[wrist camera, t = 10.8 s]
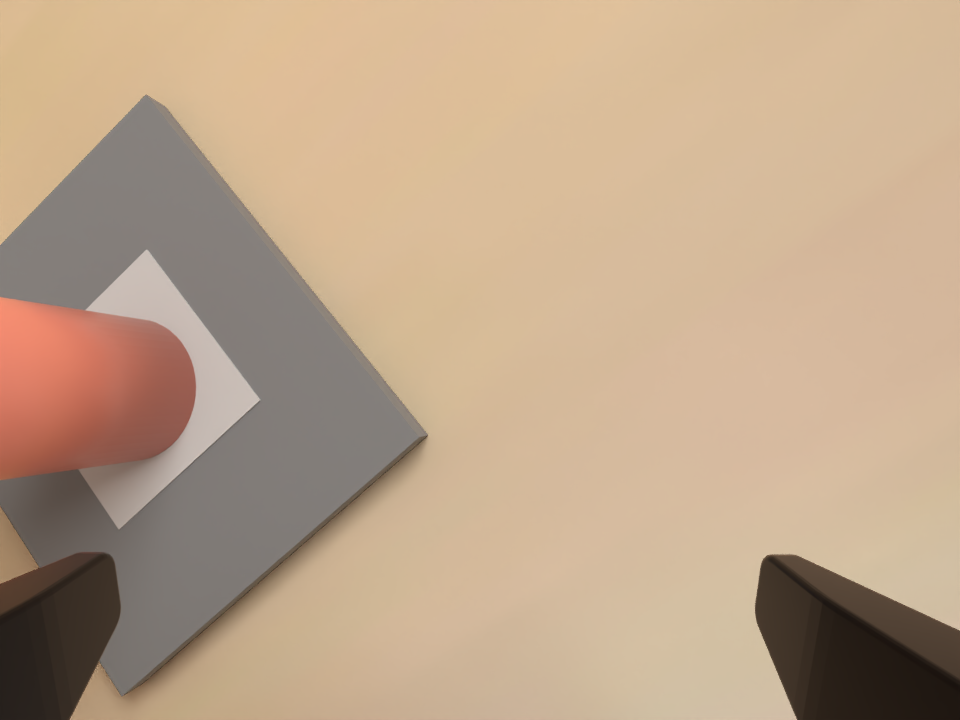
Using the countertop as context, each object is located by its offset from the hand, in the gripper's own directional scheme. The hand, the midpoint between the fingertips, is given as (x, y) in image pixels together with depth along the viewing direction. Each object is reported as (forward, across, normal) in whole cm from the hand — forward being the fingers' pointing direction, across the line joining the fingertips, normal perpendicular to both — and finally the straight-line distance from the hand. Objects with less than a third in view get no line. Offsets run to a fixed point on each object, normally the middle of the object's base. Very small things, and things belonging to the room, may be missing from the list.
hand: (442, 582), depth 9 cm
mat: (+15, +11, +2) cm, 19 cm away
